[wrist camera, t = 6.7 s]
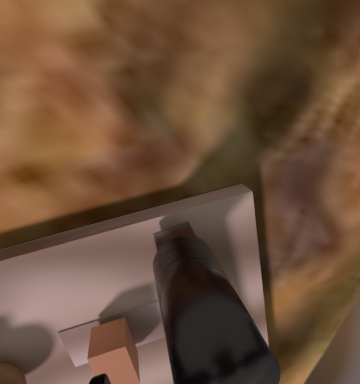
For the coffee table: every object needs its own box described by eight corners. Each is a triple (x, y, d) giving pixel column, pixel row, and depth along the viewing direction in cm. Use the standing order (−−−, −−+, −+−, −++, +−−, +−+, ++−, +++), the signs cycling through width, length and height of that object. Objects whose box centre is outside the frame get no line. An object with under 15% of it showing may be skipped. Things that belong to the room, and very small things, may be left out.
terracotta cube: (137, 351, 17) (139, 383, 15) (106, 362, 16) (104, 395, 15) (125, 317, 16) (125, 346, 14) (91, 327, 15) (87, 359, 14)
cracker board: (264, 371, 23) (297, 434, 19) (43, 453, 21) (23, 546, 17) (241, 183, 17) (284, 213, 12) (-86, 272, 14) (-177, 348, 10)
